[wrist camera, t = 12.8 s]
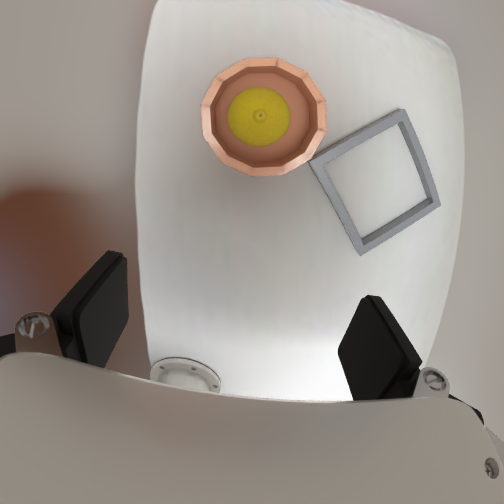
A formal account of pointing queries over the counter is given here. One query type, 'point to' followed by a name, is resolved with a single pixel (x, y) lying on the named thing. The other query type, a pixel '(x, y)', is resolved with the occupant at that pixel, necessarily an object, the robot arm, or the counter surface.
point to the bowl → (301, 124)
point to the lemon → (259, 116)
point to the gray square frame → (420, 162)
